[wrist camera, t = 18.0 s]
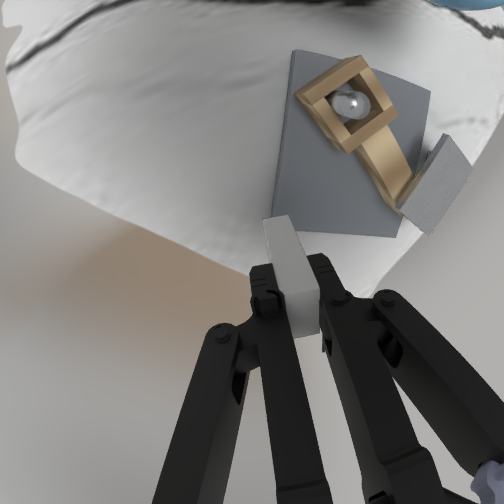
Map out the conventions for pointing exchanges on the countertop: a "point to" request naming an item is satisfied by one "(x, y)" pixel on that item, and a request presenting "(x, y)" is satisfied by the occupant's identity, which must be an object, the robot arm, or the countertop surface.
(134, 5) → the countertop surface
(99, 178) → the countertop surface
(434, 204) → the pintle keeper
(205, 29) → the countertop surface
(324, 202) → the base plate
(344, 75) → the link
